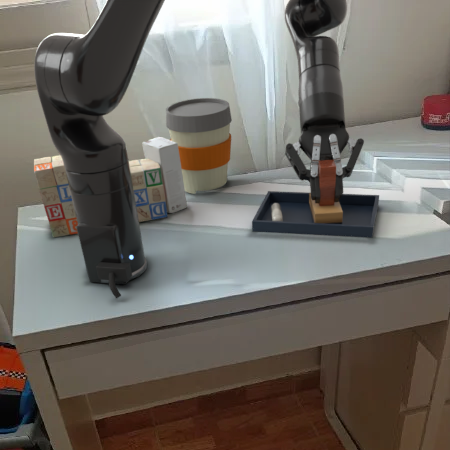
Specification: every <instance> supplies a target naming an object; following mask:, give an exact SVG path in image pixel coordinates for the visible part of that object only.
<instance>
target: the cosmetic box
mask: <svg viewBox="0 0 450 450" xmlns="http://www.w3.org/2000/svg"><path fill="white" fill-rule="evenodd" d="M141 145H142V149H143V155H144V159H146V158H148V159H151V160H153V161H155V162H158V164H159V166H160V169H161V175H162V181H163V187H164V193H165V202H166V209H167V213H169V214H174V213H176V212H179V211H182V210H184V209H186V208H187V207H188V202H187V196H186V191H185V189H184V182H183V176H182V169H181V162H180V156H179V149H178V143H176V142H173V141H170V139H168V138H165V137H162V136H156V137H154V138H151V139H148V140H144V141H142V143H141Z"/></svg>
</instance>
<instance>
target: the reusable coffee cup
mask: <svg viewBox="0 0 450 450" xmlns="http://www.w3.org/2000/svg"><path fill="white" fill-rule="evenodd" d="M232 119H233V118H232V113H231V108H230V103H229V101H227V100H225V99H222V98H215V97H198V98H189V99H183V100H180V101H177V102H174V103H171V104H169V105H168V106H167V107H166V108H165V126H166V128H167V129H168V133H169V137H170V139H169V140H170V141H173V142H176V143H178V149H179V156H180V162H181V169H182V176H183V182H184V189H185V193H189V194H191V195H196V194H197V192H205V191H213V190H216V189H219V188H222V187H223V186H225V185H226V183H227V182H228V167H229V163H230V160H231V152H232V151H231V149H232V134H231V133H230V130H231V123H232Z"/></svg>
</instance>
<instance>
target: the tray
mask: <svg viewBox="0 0 450 450" xmlns="http://www.w3.org/2000/svg"><path fill="white" fill-rule="evenodd" d="M309 193H310V192H307V191H306V192H304V191H303V192H302V191H276V190H275V191H273V190H268V191H267V192H266V194H265V196H264V197H263V200H262V202H261V204H260V206H259V207H258V209H257V211H256V213H255V215H254V217H253V219H252V220H251V229H252V232H253V233H254V232H256V233H270V234H271V233H274V234H293V235H310V236H330V237H349V238H367V239H369V238H370V239H372V238H373V235H374V231H375V230H374V229H375V226H376V221H377V215H378V210H379V202H380V195H379V194H361V193H360V194H359V193H357V194H355V193H343V195H342V198H340V199H339V203H340V206H341V208H342V211H343V218H342V224H326V223H313V221H312V217H311V213H310V209H309ZM274 203H278V204H279V205H280V206H281V211H282V218H283V221H272V214H271V206H272V205H273V204H274Z"/></svg>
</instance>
